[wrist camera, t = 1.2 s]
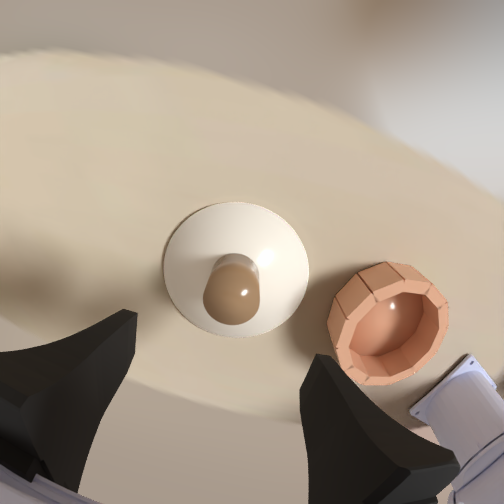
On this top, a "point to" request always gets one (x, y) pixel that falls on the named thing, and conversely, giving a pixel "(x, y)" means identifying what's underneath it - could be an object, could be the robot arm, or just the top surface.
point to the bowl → (387, 323)
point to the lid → (236, 269)
